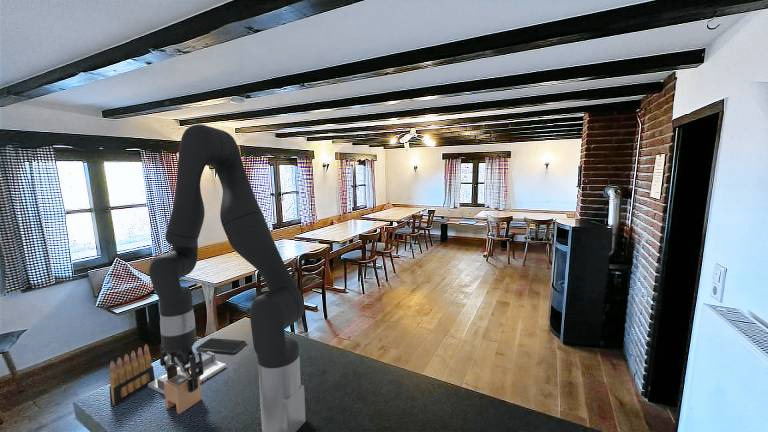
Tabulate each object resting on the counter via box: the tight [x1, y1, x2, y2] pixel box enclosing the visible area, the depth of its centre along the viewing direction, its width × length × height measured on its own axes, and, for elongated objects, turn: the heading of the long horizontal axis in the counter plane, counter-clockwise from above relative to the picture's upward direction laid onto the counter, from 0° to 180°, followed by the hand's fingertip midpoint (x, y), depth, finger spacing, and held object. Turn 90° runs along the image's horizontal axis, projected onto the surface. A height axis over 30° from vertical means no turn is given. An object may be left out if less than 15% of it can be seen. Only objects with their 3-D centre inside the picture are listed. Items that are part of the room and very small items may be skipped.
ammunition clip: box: [109, 344, 156, 407], centre depth 88 cm, size 11×2×12 cm, turn 162°
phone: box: [195, 337, 247, 356], centre depth 113 cm, size 8×1×15 cm
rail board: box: [147, 351, 227, 395], centre depth 96 cm, size 12×16×4 cm
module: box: [164, 371, 202, 415], centre depth 84 cm, size 5×6×7 cm
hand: (182, 385), depth 84 cm, fingers open, 8 cm apart
